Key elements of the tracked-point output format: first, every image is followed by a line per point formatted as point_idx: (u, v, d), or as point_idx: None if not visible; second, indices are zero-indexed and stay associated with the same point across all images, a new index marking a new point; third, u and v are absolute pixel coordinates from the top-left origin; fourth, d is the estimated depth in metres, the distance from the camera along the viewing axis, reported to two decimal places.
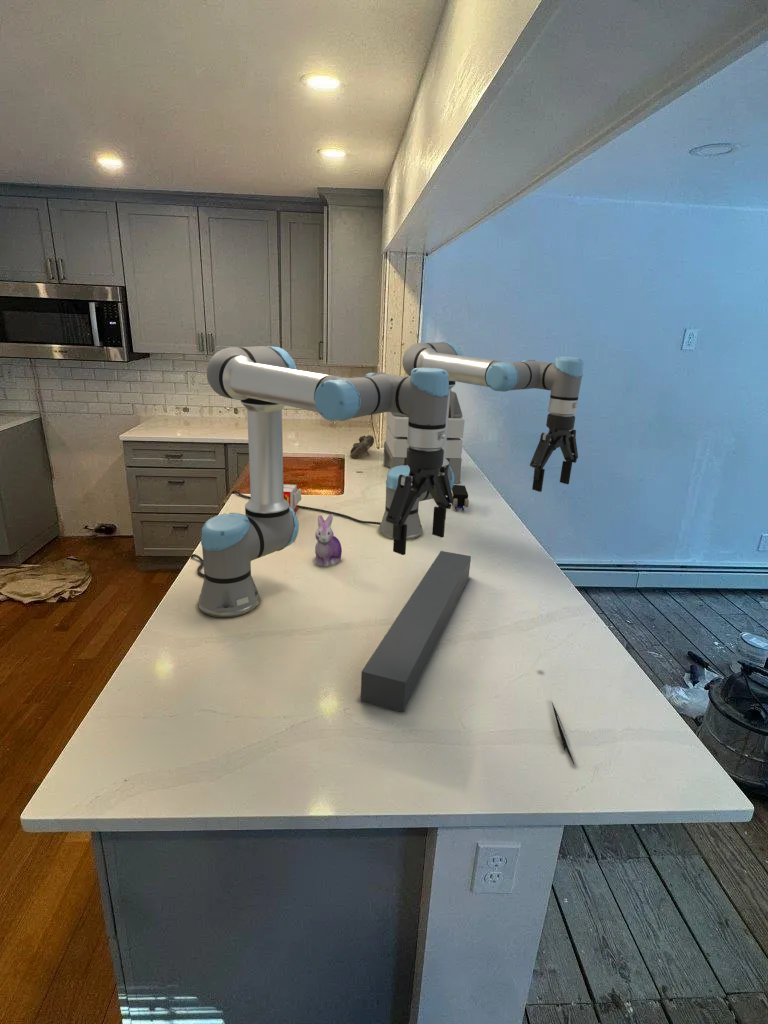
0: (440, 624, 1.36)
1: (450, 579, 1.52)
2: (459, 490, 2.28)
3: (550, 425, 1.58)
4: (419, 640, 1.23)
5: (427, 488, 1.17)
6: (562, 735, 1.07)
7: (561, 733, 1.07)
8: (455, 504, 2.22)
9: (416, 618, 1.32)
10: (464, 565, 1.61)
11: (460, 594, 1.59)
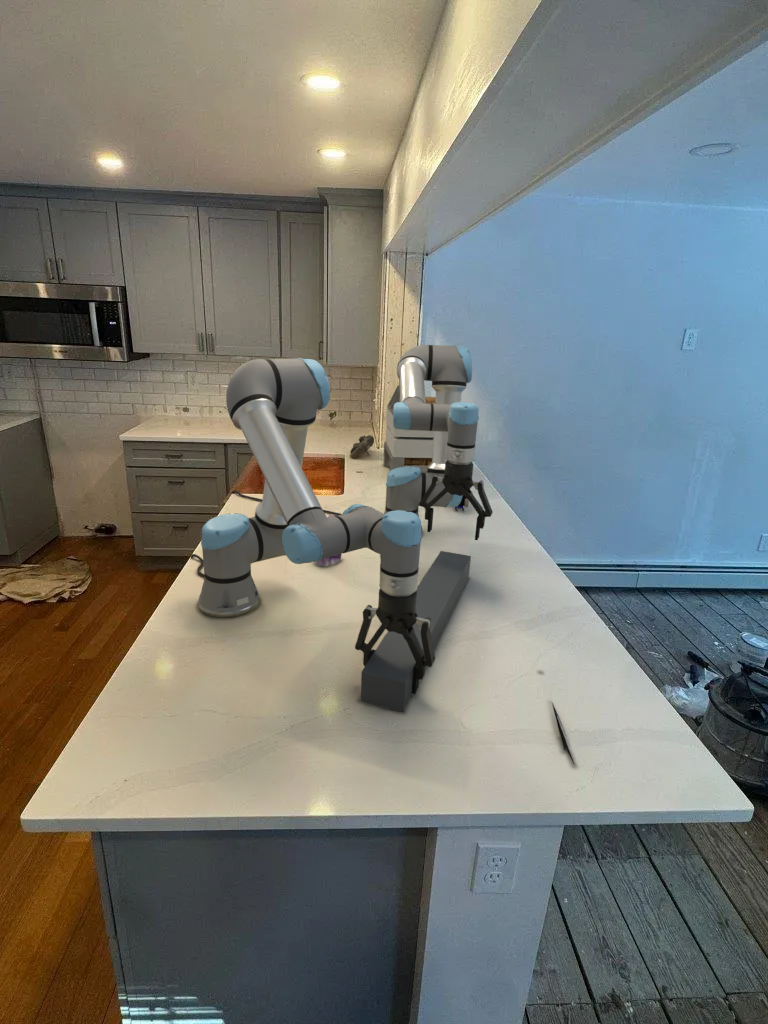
0: (440, 624, 1.36)
1: (450, 579, 1.52)
2: None
3: None
4: (419, 640, 1.23)
5: (394, 629, 1.13)
6: (562, 735, 1.07)
7: (561, 733, 1.07)
8: None
9: None
10: (464, 565, 1.61)
11: (460, 594, 1.59)
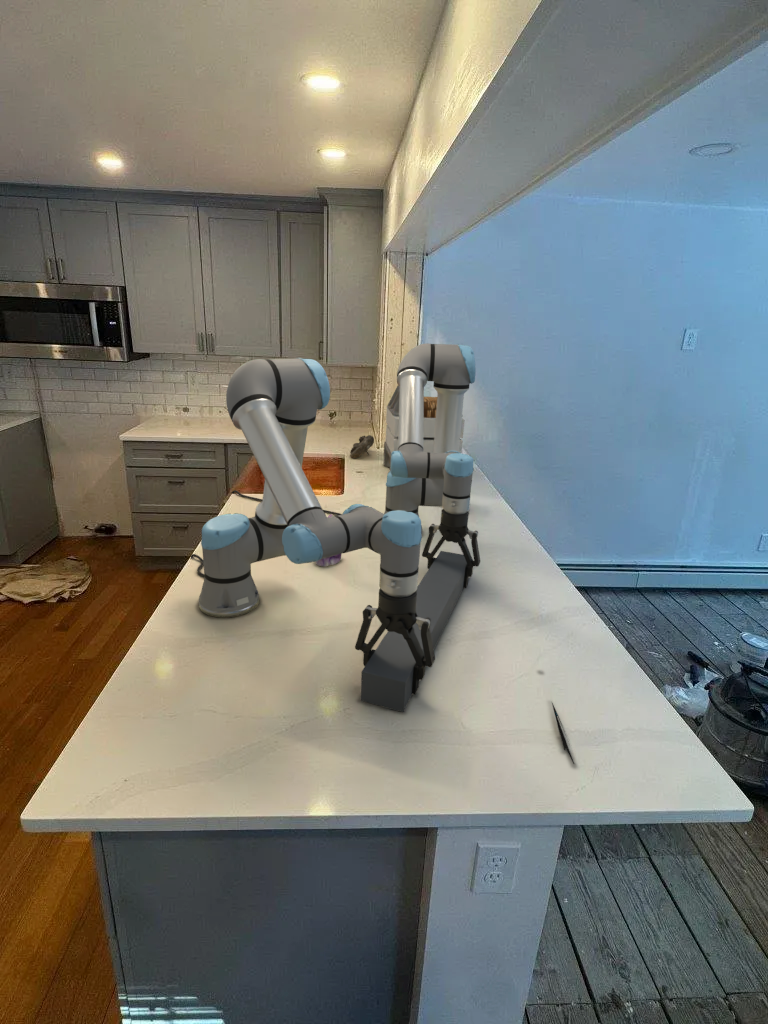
0: (440, 624, 1.36)
1: (450, 579, 1.52)
2: None
3: None
4: (419, 640, 1.23)
5: (394, 629, 1.13)
6: (562, 735, 1.07)
7: (561, 733, 1.07)
8: None
9: None
10: (464, 565, 1.61)
11: (460, 594, 1.59)
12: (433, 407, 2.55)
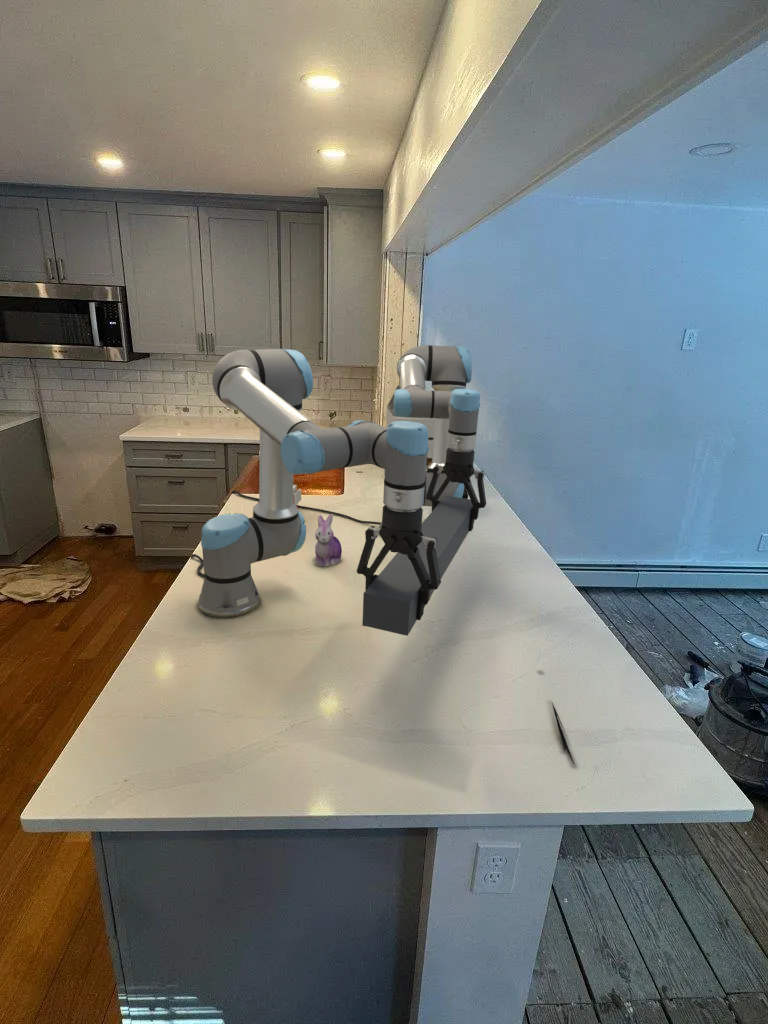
0: (445, 558, 1.30)
1: (455, 518, 1.46)
2: None
3: None
4: None
5: (398, 550, 1.07)
6: (562, 735, 1.07)
7: (561, 733, 1.07)
8: None
9: (421, 550, 1.26)
10: (469, 507, 1.55)
11: None
12: None
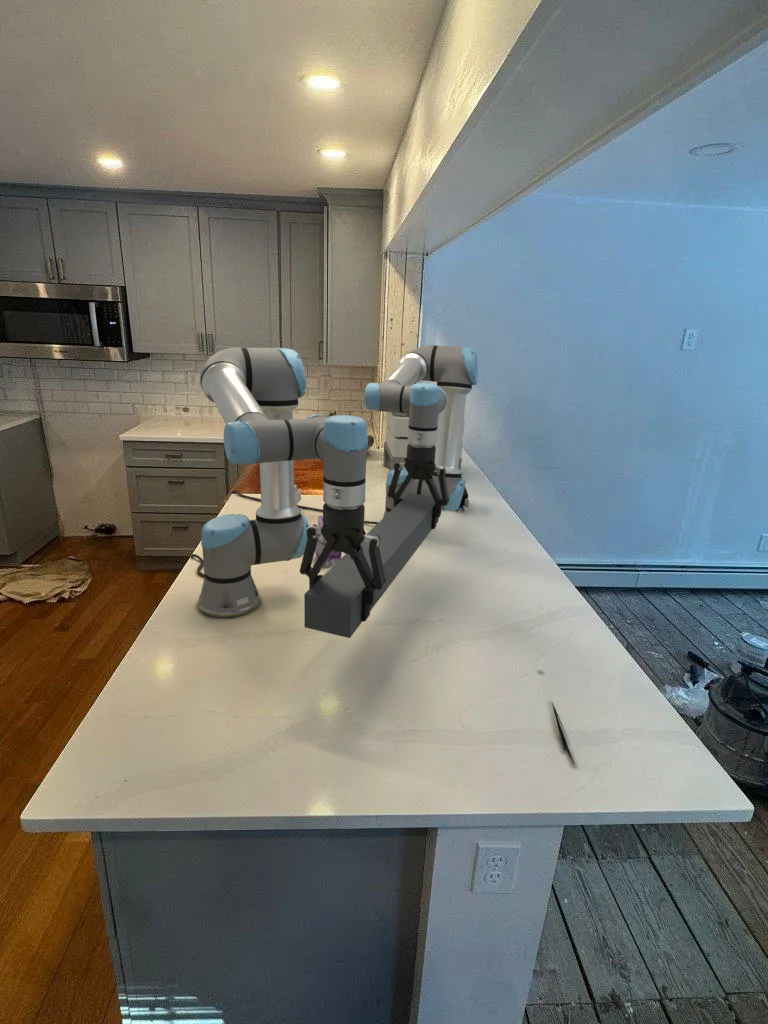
0: (399, 557, 1.27)
1: (415, 516, 1.43)
2: None
3: None
4: None
5: (341, 549, 1.04)
6: (562, 735, 1.07)
7: (561, 733, 1.07)
8: None
9: None
10: (432, 505, 1.51)
11: (427, 535, 1.50)
12: None
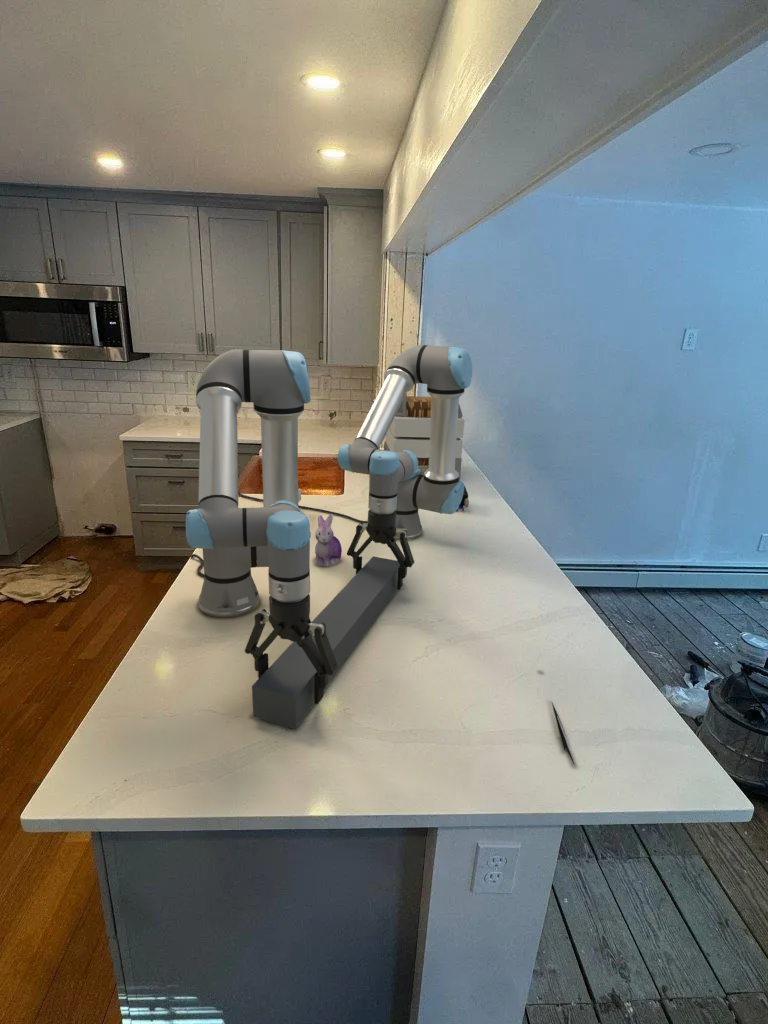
0: (354, 634, 1.30)
1: (374, 586, 1.46)
2: None
3: None
4: None
5: (287, 637, 1.07)
6: (562, 735, 1.07)
7: (561, 733, 1.07)
8: None
9: (327, 628, 1.26)
10: (393, 571, 1.55)
11: (388, 601, 1.53)
12: None
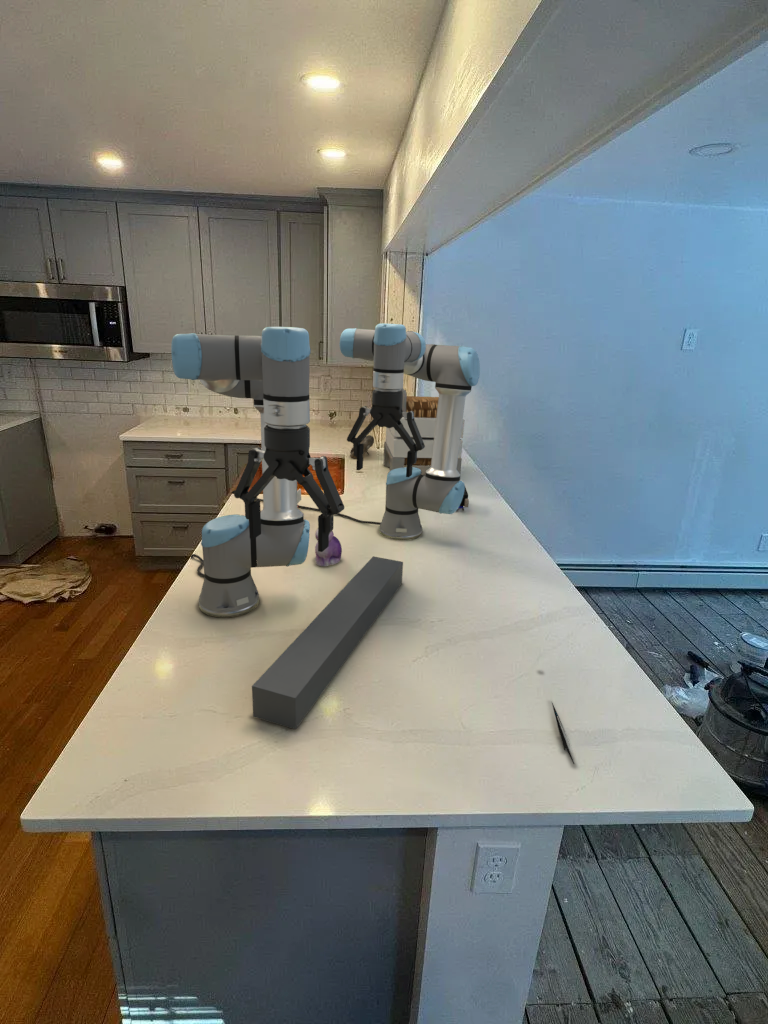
0: (354, 634, 1.30)
1: (374, 586, 1.46)
2: None
3: None
4: (323, 652, 1.17)
5: (285, 475, 0.96)
6: (562, 735, 1.07)
7: (561, 733, 1.07)
8: None
9: (327, 628, 1.26)
10: (393, 571, 1.55)
11: (388, 601, 1.53)
12: (433, 407, 2.55)
